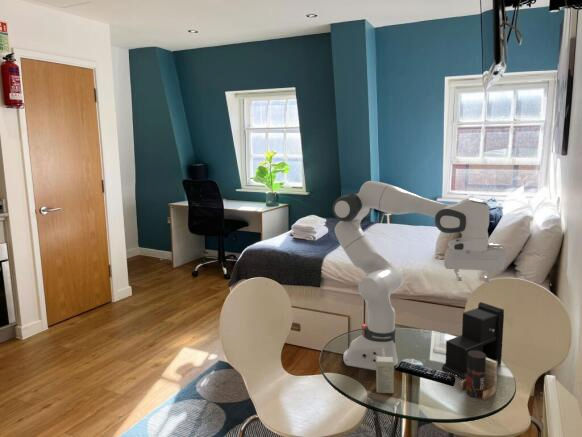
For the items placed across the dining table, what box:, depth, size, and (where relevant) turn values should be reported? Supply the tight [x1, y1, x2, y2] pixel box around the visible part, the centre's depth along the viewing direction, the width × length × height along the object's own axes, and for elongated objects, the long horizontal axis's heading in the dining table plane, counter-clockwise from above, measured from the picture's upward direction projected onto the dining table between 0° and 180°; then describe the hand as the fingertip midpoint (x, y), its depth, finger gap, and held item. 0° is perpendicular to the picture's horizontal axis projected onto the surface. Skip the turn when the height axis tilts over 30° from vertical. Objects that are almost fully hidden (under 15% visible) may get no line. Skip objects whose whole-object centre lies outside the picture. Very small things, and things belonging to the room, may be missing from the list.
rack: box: [460, 357, 498, 401], centre depth 159 cm, size 8×9×12 cm
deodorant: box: [465, 350, 486, 399], centre depth 157 cm, size 6×6×15 cm
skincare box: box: [375, 356, 395, 394], centre depth 160 cm, size 6×4×12 cm
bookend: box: [441, 301, 505, 381], centre depth 175 cm, size 23×11×24 cm, turn 121°
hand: (472, 281), depth 160 cm, fingers open, 8 cm apart
